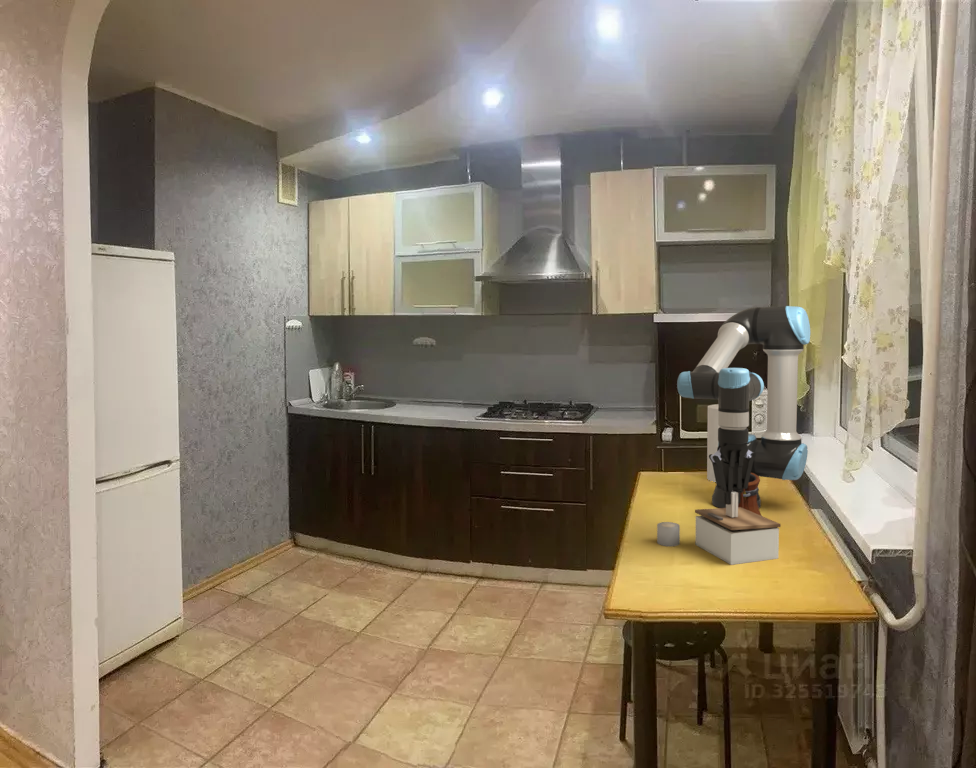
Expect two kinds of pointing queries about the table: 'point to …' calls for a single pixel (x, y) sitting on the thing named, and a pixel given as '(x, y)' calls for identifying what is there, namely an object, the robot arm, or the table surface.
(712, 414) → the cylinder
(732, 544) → the box
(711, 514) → the lid
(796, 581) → the table surface
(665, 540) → the grey squat drum
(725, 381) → the robot arm
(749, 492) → the mug
